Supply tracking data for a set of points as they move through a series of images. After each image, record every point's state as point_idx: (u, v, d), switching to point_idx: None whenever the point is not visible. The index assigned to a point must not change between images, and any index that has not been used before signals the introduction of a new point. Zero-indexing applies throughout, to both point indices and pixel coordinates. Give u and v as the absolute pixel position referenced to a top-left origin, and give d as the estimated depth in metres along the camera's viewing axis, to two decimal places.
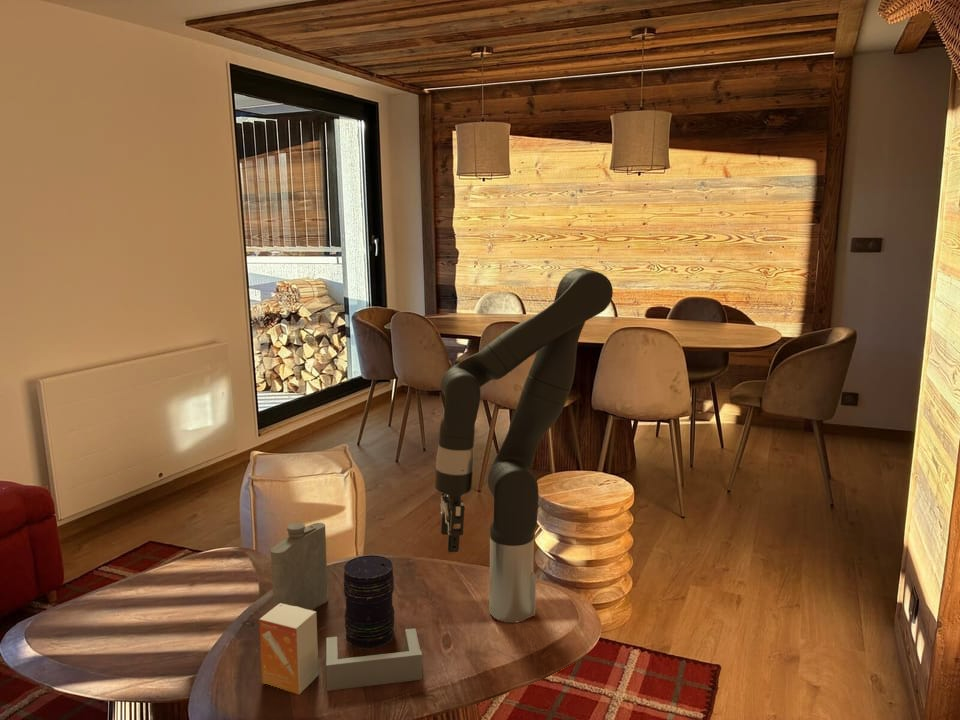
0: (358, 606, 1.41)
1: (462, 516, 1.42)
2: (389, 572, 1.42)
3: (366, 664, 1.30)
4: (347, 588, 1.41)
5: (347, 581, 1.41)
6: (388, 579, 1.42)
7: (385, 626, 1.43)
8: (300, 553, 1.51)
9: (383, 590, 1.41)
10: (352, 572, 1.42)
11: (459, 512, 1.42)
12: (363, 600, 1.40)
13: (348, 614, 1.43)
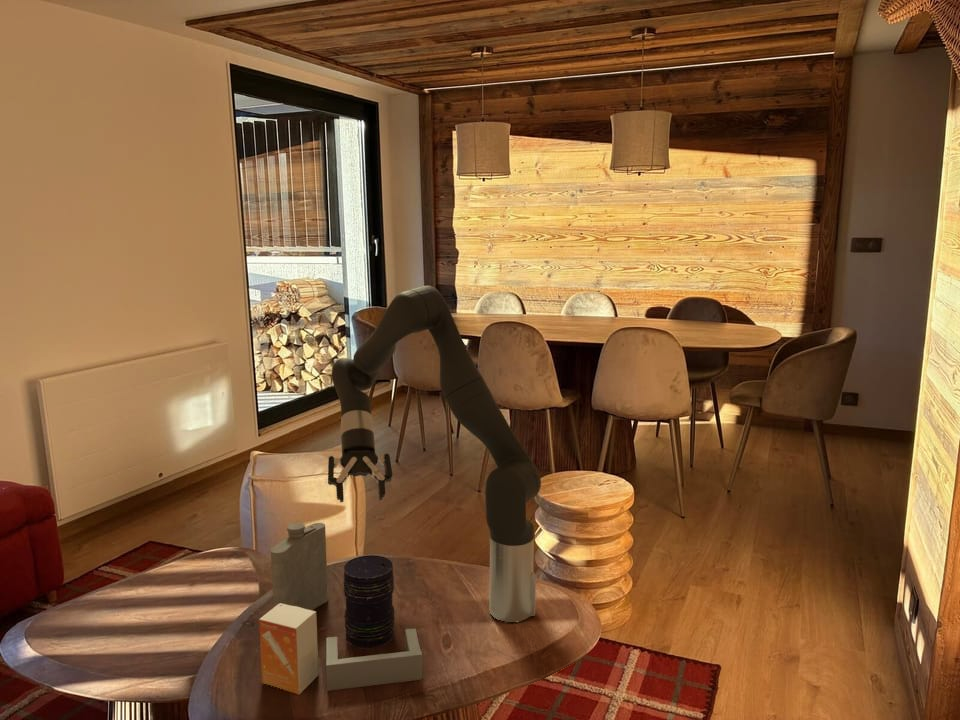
0: (358, 606, 1.41)
1: (328, 464, 1.63)
2: (389, 572, 1.42)
3: (366, 664, 1.30)
4: (347, 588, 1.41)
5: (347, 581, 1.41)
6: (388, 579, 1.42)
7: (385, 626, 1.43)
8: (300, 553, 1.51)
9: (383, 590, 1.41)
10: (352, 572, 1.42)
11: None
12: (363, 600, 1.40)
13: (348, 614, 1.43)
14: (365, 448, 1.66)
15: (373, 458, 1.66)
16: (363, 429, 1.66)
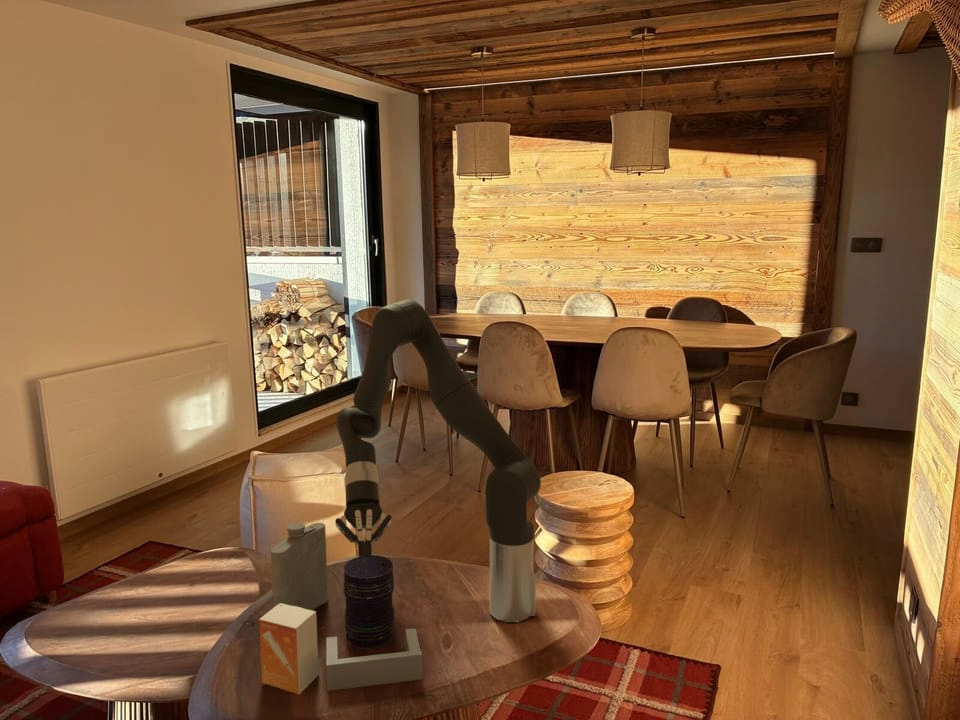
0: (358, 606, 1.41)
1: (340, 527, 1.59)
2: (389, 572, 1.42)
3: (366, 664, 1.30)
4: (347, 588, 1.41)
5: (347, 581, 1.41)
6: (388, 579, 1.42)
7: (385, 626, 1.43)
8: (300, 553, 1.51)
9: (383, 590, 1.41)
10: (352, 572, 1.42)
11: (337, 525, 1.60)
12: (363, 600, 1.40)
13: (348, 614, 1.43)
14: (369, 501, 1.63)
15: (376, 511, 1.63)
16: (367, 481, 1.64)
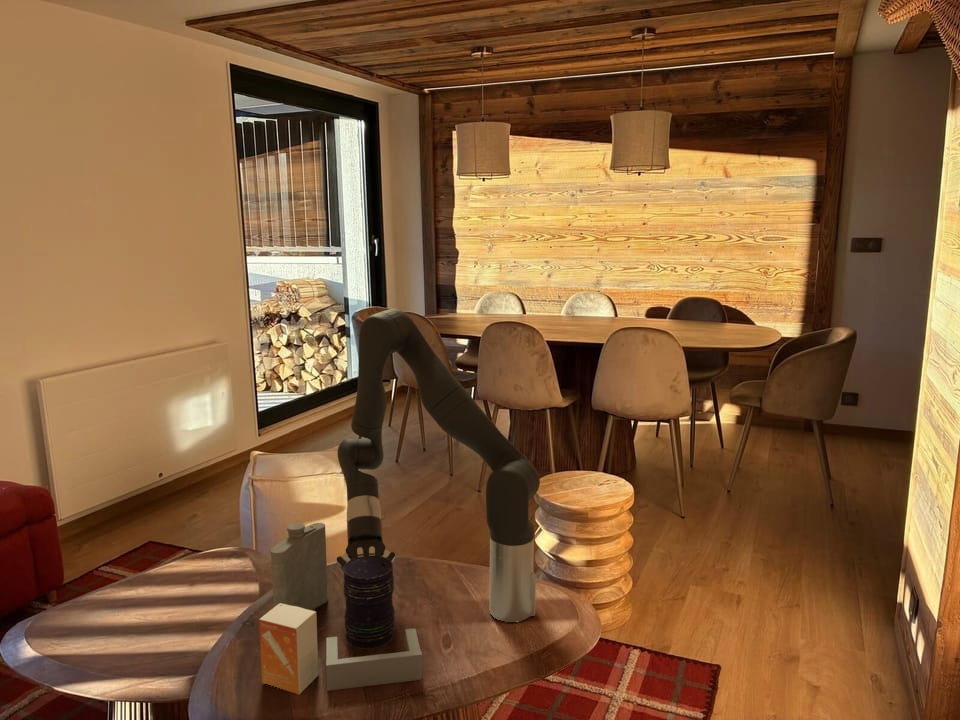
0: (358, 607, 1.41)
1: (341, 566, 1.53)
2: (389, 572, 1.42)
3: (366, 664, 1.30)
4: (347, 588, 1.41)
5: (347, 581, 1.41)
6: (388, 579, 1.42)
7: (385, 626, 1.43)
8: (300, 553, 1.51)
9: (383, 590, 1.41)
10: (352, 573, 1.42)
11: (339, 564, 1.54)
12: (363, 601, 1.40)
13: (348, 614, 1.43)
14: (371, 537, 1.57)
15: (379, 548, 1.56)
16: (370, 516, 1.57)
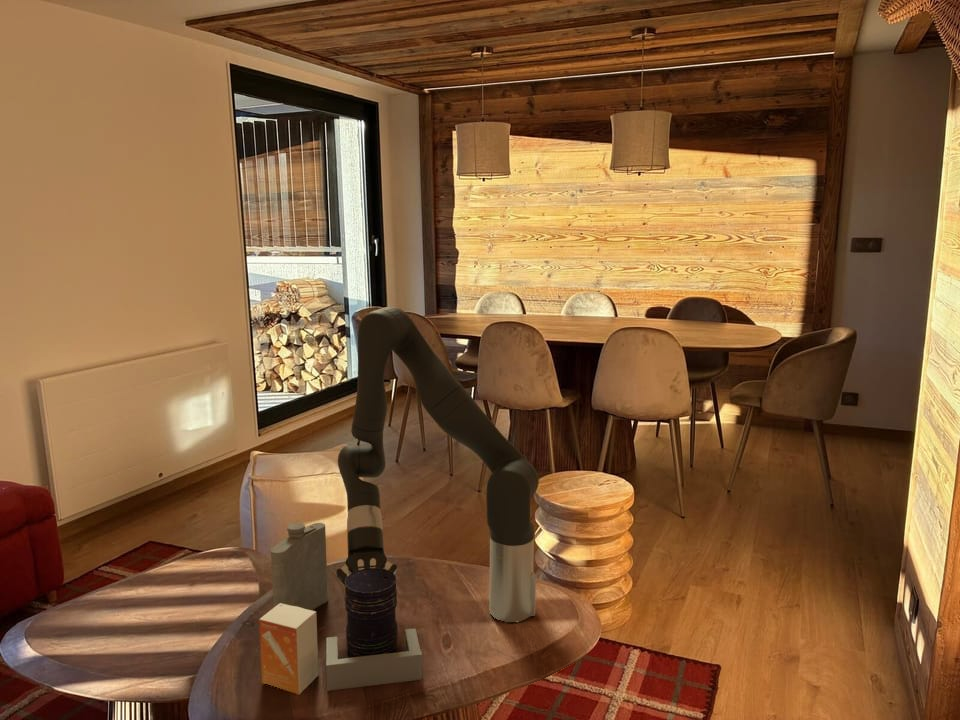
0: (362, 622, 1.35)
1: (341, 578, 1.48)
2: (393, 585, 1.37)
3: (366, 664, 1.30)
4: (350, 603, 1.36)
5: (349, 596, 1.36)
6: (392, 592, 1.37)
7: (389, 641, 1.38)
8: (300, 553, 1.51)
9: (387, 604, 1.36)
10: (354, 587, 1.36)
11: (339, 576, 1.49)
12: (368, 616, 1.35)
13: (350, 630, 1.37)
14: (372, 549, 1.51)
15: (381, 560, 1.51)
16: (371, 527, 1.52)
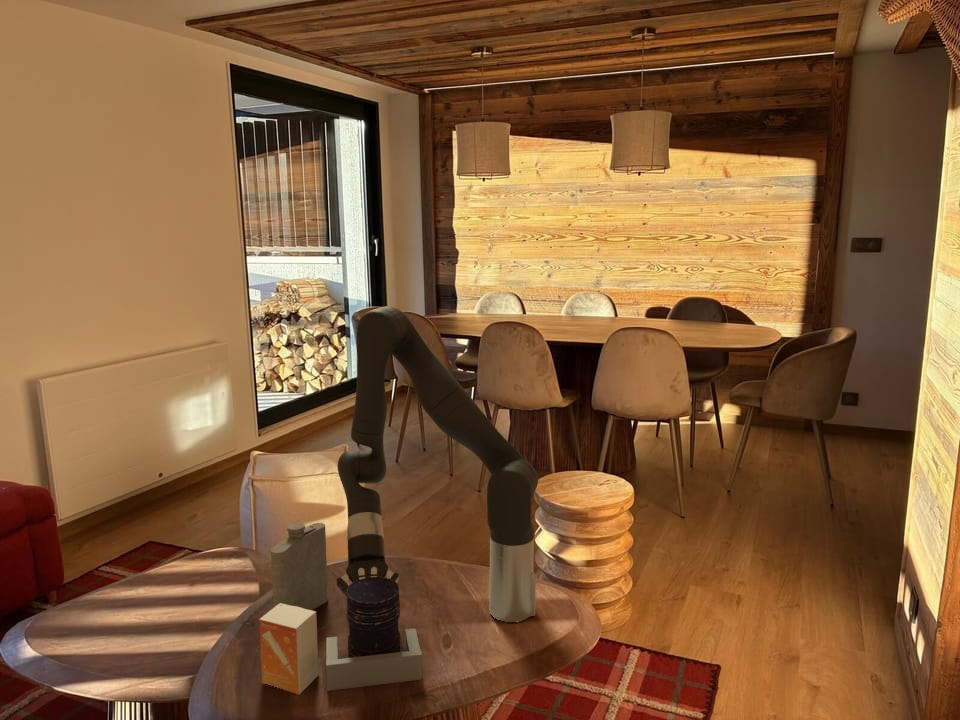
0: (365, 633, 1.32)
1: (341, 587, 1.44)
2: (397, 594, 1.34)
3: (366, 664, 1.30)
4: (352, 615, 1.32)
5: (352, 607, 1.32)
6: (396, 602, 1.34)
7: (393, 652, 1.35)
8: (300, 553, 1.51)
9: (392, 614, 1.33)
10: (357, 597, 1.32)
11: (339, 585, 1.45)
12: (372, 627, 1.31)
13: (353, 642, 1.34)
14: (373, 557, 1.47)
15: (382, 568, 1.47)
16: (372, 535, 1.48)
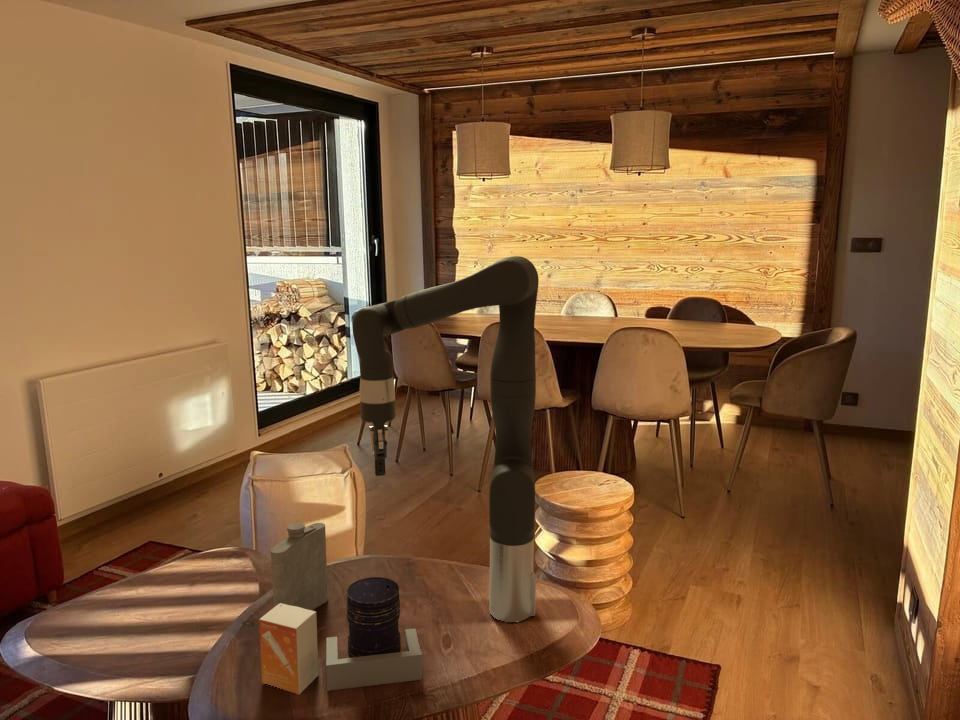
0: (365, 633, 1.32)
1: (385, 449, 1.54)
2: (397, 594, 1.34)
3: (366, 664, 1.30)
4: (352, 615, 1.32)
5: (352, 607, 1.32)
6: (396, 602, 1.34)
7: (393, 652, 1.35)
8: (300, 553, 1.51)
9: (392, 614, 1.33)
10: (357, 597, 1.32)
11: (382, 447, 1.53)
12: (372, 627, 1.31)
13: (353, 642, 1.34)
14: None
15: None
16: None
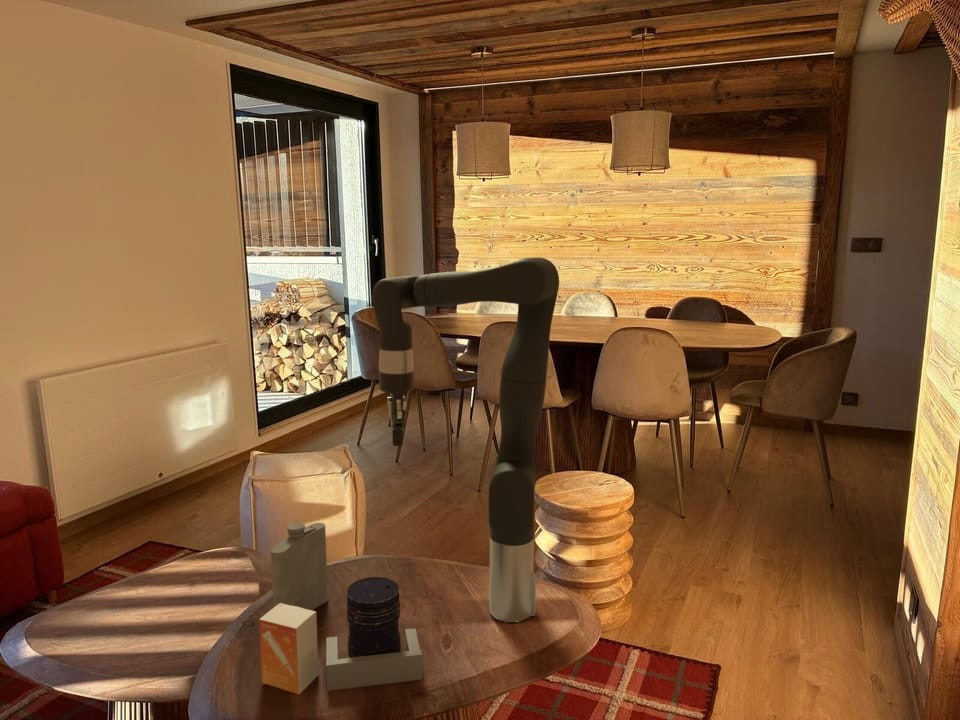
0: (365, 634, 1.32)
1: (403, 419, 1.56)
2: (397, 594, 1.34)
3: (366, 664, 1.30)
4: (352, 615, 1.32)
5: (352, 607, 1.32)
6: (396, 602, 1.34)
7: (393, 652, 1.35)
8: (300, 553, 1.51)
9: (392, 614, 1.33)
10: (357, 597, 1.32)
11: (400, 416, 1.56)
12: (372, 627, 1.31)
13: (353, 642, 1.34)
14: None
15: None
16: None
